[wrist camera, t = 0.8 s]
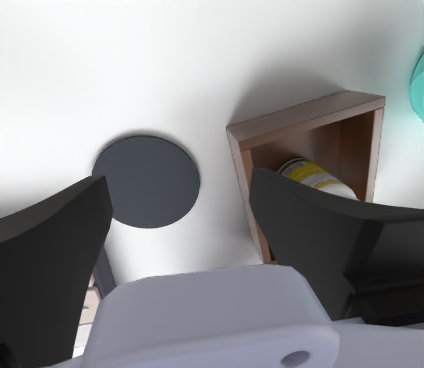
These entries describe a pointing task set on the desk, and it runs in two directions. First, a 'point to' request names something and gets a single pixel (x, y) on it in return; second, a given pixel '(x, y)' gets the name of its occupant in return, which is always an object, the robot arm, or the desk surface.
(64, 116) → the desk surface
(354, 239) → the robot arm
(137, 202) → the coaster
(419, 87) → the decorative dice
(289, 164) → the supplement bottle
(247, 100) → the desk surface
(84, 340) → the calculator
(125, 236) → the desk surface
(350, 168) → the box
